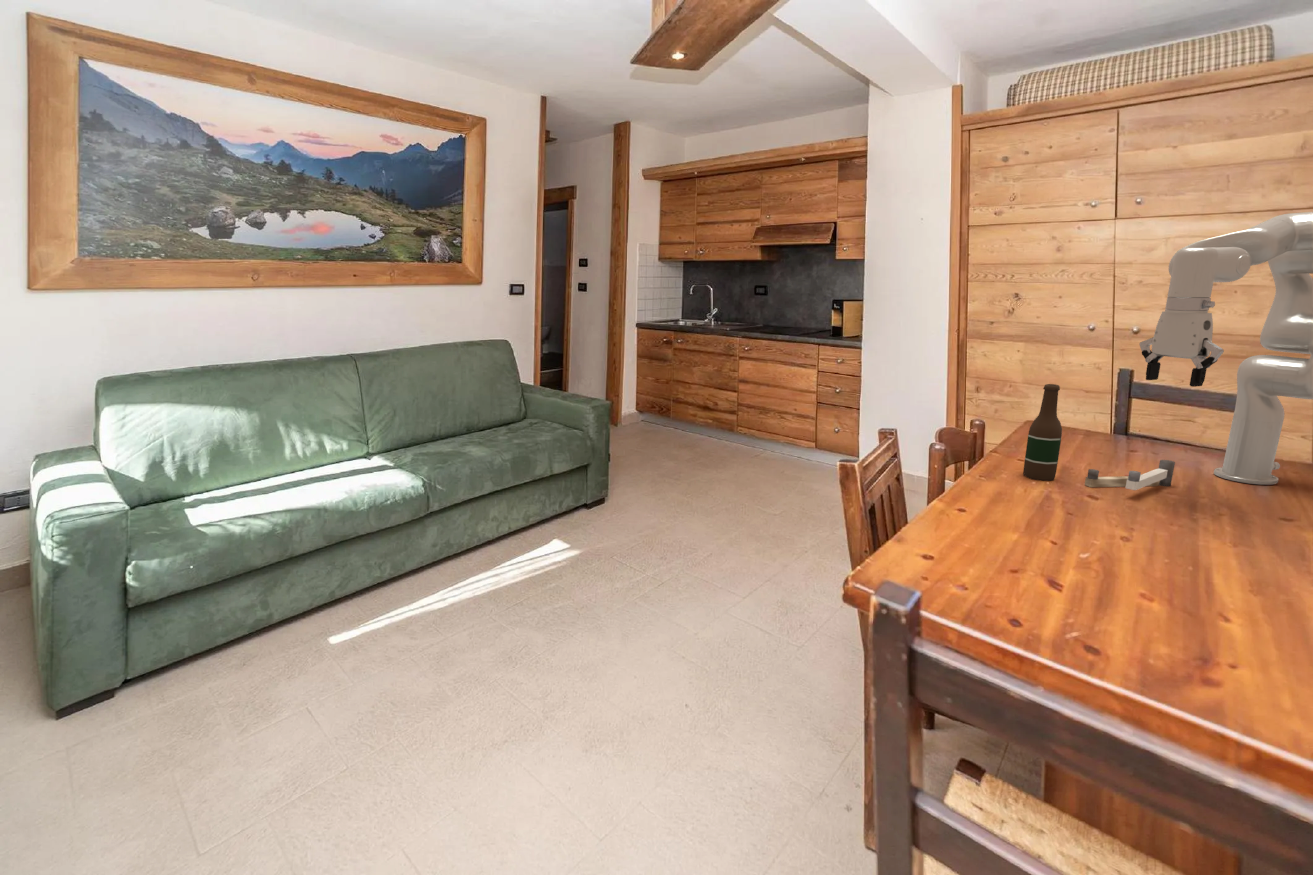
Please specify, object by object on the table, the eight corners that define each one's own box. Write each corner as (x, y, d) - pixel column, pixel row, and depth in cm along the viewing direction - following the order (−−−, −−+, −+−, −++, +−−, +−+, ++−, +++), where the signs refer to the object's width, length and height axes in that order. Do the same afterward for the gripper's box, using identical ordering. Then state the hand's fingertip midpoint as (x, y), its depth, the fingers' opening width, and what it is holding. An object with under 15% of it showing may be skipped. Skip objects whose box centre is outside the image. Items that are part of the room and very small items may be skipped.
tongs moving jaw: (1156, 475, 167) (1159, 460, 166) (1166, 478, 165) (1169, 462, 164) (1124, 488, 156) (1127, 471, 156) (1135, 490, 155) (1138, 473, 154)
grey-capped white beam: (1163, 482, 169) (1168, 459, 167) (1173, 486, 166) (1178, 462, 165) (1082, 484, 167) (1086, 460, 166) (1091, 487, 164) (1095, 464, 163)
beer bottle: (1061, 482, 169) (1075, 387, 163) (1027, 480, 170) (1040, 386, 165) (1049, 473, 176) (1063, 383, 170) (1017, 471, 178) (1030, 381, 172)
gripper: (1242, 307, 141) (1226, 387, 145) (1159, 304, 157) (1146, 376, 161) (1218, 307, 139) (1202, 389, 143) (1136, 304, 155) (1124, 378, 159)
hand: (1173, 382), depth 152 cm, fingers open, 9 cm apart
